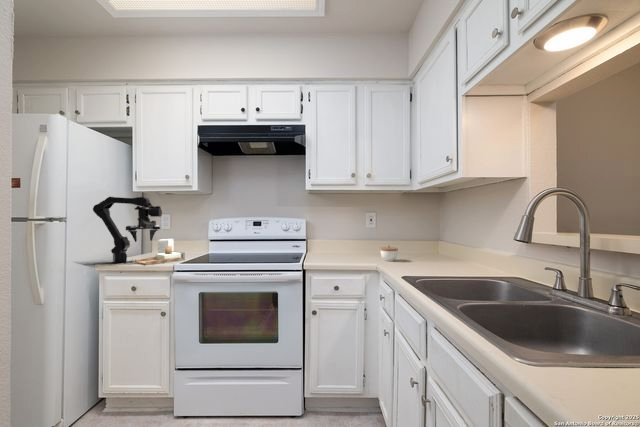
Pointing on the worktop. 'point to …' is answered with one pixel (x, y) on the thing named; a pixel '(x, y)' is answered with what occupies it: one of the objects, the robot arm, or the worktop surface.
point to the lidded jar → (389, 253)
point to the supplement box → (164, 243)
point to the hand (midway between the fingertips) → (143, 241)
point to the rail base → (155, 261)
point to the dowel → (168, 250)
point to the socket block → (167, 256)
